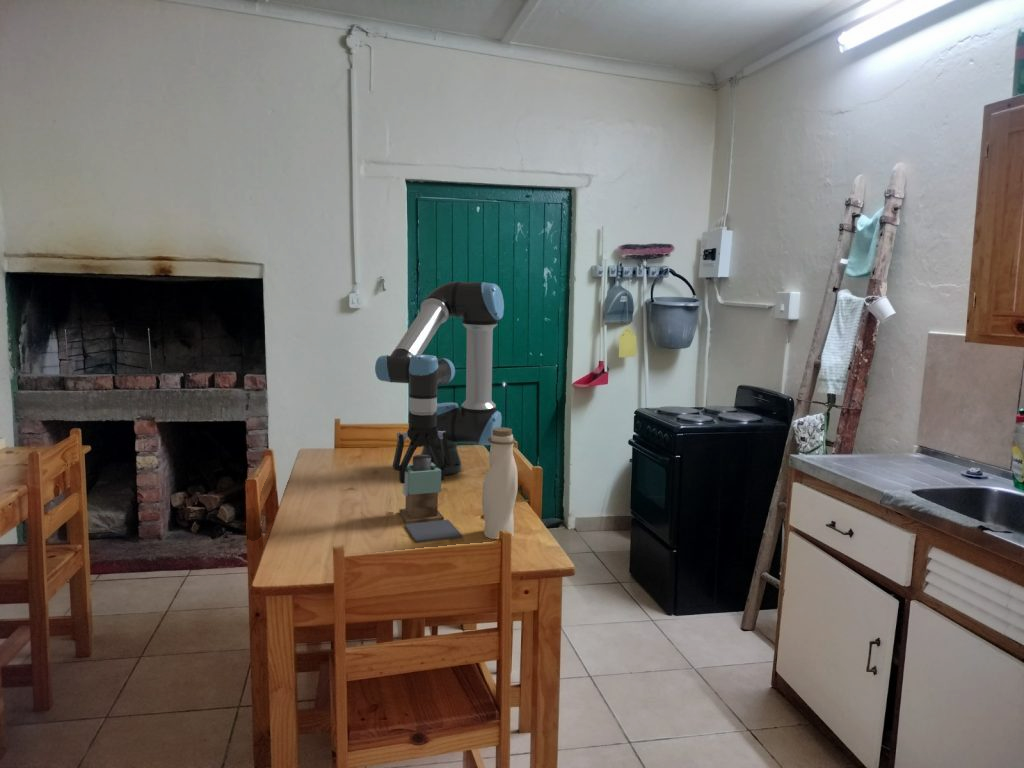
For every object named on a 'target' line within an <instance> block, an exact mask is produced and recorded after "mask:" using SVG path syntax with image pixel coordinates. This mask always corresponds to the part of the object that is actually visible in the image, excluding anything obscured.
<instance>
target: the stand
mask: <svg viewBox="0 0 1024 768" xmlns="http://www.w3.org/2000/svg"><path fill="white" fill-rule="evenodd" d="M412 464H413V471H426V470H431V456H429V455H421V454H416V455H414V456H413V455H412ZM438 494H439V493H438V492H436V493H424V494H413V495H410V494H409V493H408V496H405V508H399V511H398V512H399V514H400V516H401V517H402V518H403V520H404V522H406V523H405V524H411V523H420V522H430V521H440V520H445V517H444V516H443V515H442V514H441V512H440V510H438V508H439V505H438V501H439V495H438Z"/></svg>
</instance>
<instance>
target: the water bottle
mask: <svg viewBox="0 0 1024 768" xmlns="http://www.w3.org/2000/svg"><path fill="white" fill-rule="evenodd" d="M512 432H513V429H512V428H509V427H505V426H504V427H502V426H501V427H498V428H493V433H492V435H491V437H490V438H489V439H488V442H490V443H491V445H490V447H489V449H490V450H489V456H488V464H489V465H488V466H489V469H488V470H487V472H486V474H485V476H484V478H483V479H484V480H483V483H482V484H483V485H482V494H481V495H482V497H481V503H482V506H481V507H482V513H483V517H484V533H483V534H484V536H485V537H487V538H488V539H491V540H495V539H496V538H497V537H498V534H499V531H507V532H510V533H511V534H512V537H514V534H515V533H514V532H515V531H514V526H515V525H514V523H515V522H514V519H515V518H514V517H515V516H514V507H515V503H516V499H517V493H518V488H519V486H518V478H519V477H518V467H517V466H518V465H517V463H516V460H515V457H514V451H513V450H514V444H515V443H516V439H515V437H514V434H513V433H512Z"/></svg>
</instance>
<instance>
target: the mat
mask: <svg viewBox="0 0 1024 768" xmlns="http://www.w3.org/2000/svg"><path fill="white" fill-rule="evenodd" d="M404 527H405V529H406V530H407V532H408V533H409V535H410V536H411V537H412V539H413V540H414V542H415V543H425V542H426V543H427V542H432V541H433V542H435V541H441V540H449V539H460V538H463V535H462V534H461V533H460V531H459V530H458V529H457V528H456V527H455V526H454V524H453V523H452V522H451V521H450V520H449V519H444V520H440V521H430V522H420V523H411V524H407V523H405V524H404Z"/></svg>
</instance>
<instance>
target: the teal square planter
mask: <svg viewBox="0 0 1024 768" xmlns="http://www.w3.org/2000/svg"><path fill="white" fill-rule="evenodd" d="M406 471H407V472H408V493H409V494H410V495H413V494H424V493H436V492H440V493H441V492H442V480H441V470H440V469H439V468H438V467H437V466H436V465H435V464H434V463H431V470H426V471H413V463H411V464H410V463H409V464H408V466H407V468H406Z"/></svg>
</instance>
